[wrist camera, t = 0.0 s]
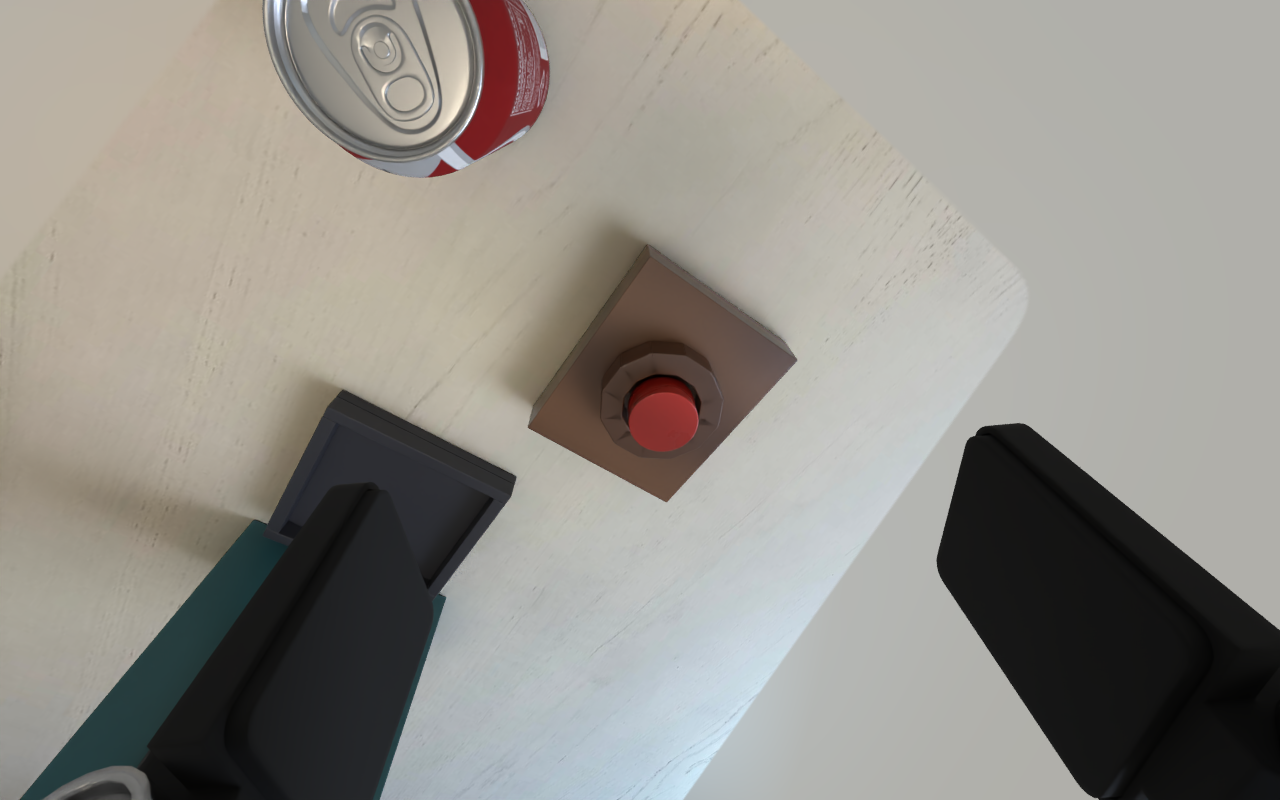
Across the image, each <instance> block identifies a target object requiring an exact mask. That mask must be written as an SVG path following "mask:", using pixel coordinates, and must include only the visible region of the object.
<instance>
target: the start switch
mask: <svg viewBox="0 0 1280 800" xmlns="http://www.w3.org/2000/svg"><path fill="white" fill-rule="evenodd" d="M796 362H797V359H796V357H795V356H794V354H793V353H792V351H791V350H790V348H789V347H788V345H787V344H786V342H784V341H783V340H781V339H780V338H779V337H777V336H776V335H774V334H773V333H772V332H770V331H769V330H767V329H766V328H765V327H763V326H762V325H760V324H759V323H758V322H756V321H755V320H753V319H752V318H751V317H749V316H748V315H746V314H745V313H744V312H742V311H741V310H739V309H738V308H737V307H735V306H734V305H732V304H731V303H730V302H728V301H727V300H725V299H724V298H723V297H721V296H720V295H718V294H717V293H715V292H714V291H713V290H711V289H710V288H708V287H707V286H706V285H704V284H703V283H701V282H700V281H699V280H697V279H696V278H694V277H693V276H692V275H690V274H689V273H687V272H686V271H685V270H683V269H682V268H680V267H679V266H678V265H676V264H675V263H673V262H672V261H671V260H669V259H668V258H666V257H665V256H664V255H662V254H661V253H659V252H658V251H657V250H655V249H654V248H652V247H651V246H650V245H647V246H646V247H645V249H644V250H643V252H642V253H641V254H640V256H639V257H638V259H637V260H636V261H635V263H634V264H633V266H632V267H631V269H630V270H629V271H628V273H627V274H626V276H625V277H624V278H623V280H622V281H621V283H620V284H619V286H618V287H617V288H616V290H615V291H614V293H613V294H612V295H611V297H610V298H609V300H608V301H607V302H606V304H605V305H604V307H603V308H602V310H601V311H600V312H599V314H598V315H597V317H596V318H595V319H594V321H593V322H592V324H591V325H590V327H589V328H588V329H587V331H586V332H585V334H584V335H583V336H582V338H581V339H580V341H579V342H578V344H577V345H576V346H575V348H574V349H573V351H572V352H571V353H570V355H569V356H568V358H567V359H566V361H565V362H564V363H563V365H562V366H561V368H560V369H559V370H558V372H557V373H556V375H555V376H554V378H553V379H552V380H551V382H550V383H549V385H548V386H547V387H546V389H545V390H544V392H543V393H542V395H541V396H540V397H539V399H538V400H537V402H536V403H535V404H534V406H533V409H532V412H531V416H530V420H529V424H528V428H529V429H531V430H533V431H535V432H537V433H539V434H540V435H542V436H544V437H546V438H548V439H550V440H552V441H553V442H555V443H557V444H559V445H561V446H563V447H565V448H566V449H568V450H570V451H572V452H574V453H576V454H578V455H579V456H581V457H583V458H585V459H587V460H589V461H591V462H592V463H594V464H596V465H598V466H600V467H602V468H604V469H605V470H607V471H609V472H611V473H613V474H615V475H617V476H618V477H620V478H622V479H624V480H626V481H628V482H630V483H631V484H633V485H635V486H637V487H639V488H641V489H643V490H644V491H646V492H648V493H650V494H652V495H654V496H656V497H657V498H659V499H661V500H663V501H665V502H668V500H669V499H670V498H671V497H672V496H673V495H674V494H675V493H676V492H677V491H678V490H679V489H680V487H681V486H682V485H683V484H684V483H685V482H686V481H687V480H688V479H689V478H690V477H691V475H692V474H693V473H694V472H695V471H696V470H697V469H698V468H699V467H700V466H701V465H702V464H703V462H704V461H705V460H706V459H707V458H708V457H709V456H710V455H711V454H712V453H713V452H714V451H715V449H716V448H717V447H718V446H719V445H720V444H721V443H722V442H723V441H724V440H725V439H726V438H727V436H728V435H729V434H730V433H731V432H732V431H733V430H734V429H735V428H736V427H737V426H738V424H739V423H740V422H741V421H742V420H743V419H744V418H745V417H746V416H747V415H748V414H749V413H750V411H751V410H752V409H753V408H754V407H755V406H756V405H757V404H758V403H759V402H760V401H761V400H762V398H763V397H764V396H765V395H766V394H767V393H768V392H769V391H770V390H771V389H772V388H773V386H774V385H775V384H776V383H777V382H778V381H779V380H780V379H781V378H782V377H783V376H784V375H785V373H786V372H787V371H788V370H789V369H790V368H791V367H792V366H793V365H794V364H795V363H796ZM655 377H670V378H674V379H677V380H679V381H681V382H682V383H684V384H685V385H686V386H687V387H688V388H689V389H690V391H691V393H692V395H693V397H694V401H695V405H696V409H697V413H698V419H699V422H698V427H697V430H696V433H695V434H694V436H693V437H692V439H691V440H690V441H689V442H688V443H686V444H685V445H683V446H682V447H680V448H678V449H675V450H671V451H665V452H659V451H653V450H649V449H647V448H645V447H643V446H641V445H640V444H639V443H637V442H636V440H635V439H634V438H633V437H632V435H631V433H630V430H629V422H628V401H629V398H630V396H631V394H632V392H633V391H634V389H635V388H636V387H637V386H638V385H640V384H641V383H642V382H644V381H646V380H648V379H651V378H655Z"/></svg>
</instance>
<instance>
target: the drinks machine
mask: <svg viewBox="0 0 1280 800" xmlns="http://www.w3.org/2000/svg"><path fill="white" fill-rule="evenodd" d="M266 527H267V525H266V524H264V523H261V522H259V521H256V520H253V521H252V522H251V524H250V525H249V526H248V527H247V528H246V530H245V531H244V532H243V533H242V534H241V536H240V537H239V538H238V539H237V540H236V542H235V543H234V544H233V545H232V546H231V548H230V549H229V550H228V551H227V552H226V554H225V555H224V556H223V557H222V558H221V560H220V561H219V562H218V563H217V564H216V565H215V567H214V568H213V569H212V570H211V571H210V573H209V574H208V575H207V576H206V577H205V579H204V580H203V581H202V582H201V583H200V585H199V586H198V587H197V588H196V589H195V591H194V592H193V593H192V594H191V595H190V597H189V598H188V599H187V600H186V601H185V603H184V604H183V605H182V606H181V607H180V609H179V610H178V611H177V612H176V613H175V615H174V616H173V617H172V618H171V619H170V621H169V622H168V623H167V624H166V625H165V626H164V628H163V629H162V630H161V631H160V632H159V634H158V635H157V636H156V637H155V638H154V640H153V641H152V642H151V643H150V644H149V646H148V647H147V648H146V649H145V650H144V652H143V653H142V654H141V655H140V656H139V658H138V659H137V660H136V661H135V662H134V664H133V665H132V666H131V667H130V668H129V670H128V671H127V672H126V673H125V674H124V676H123V677H122V678H121V679H120V680H119V682H118V683H117V684H116V685H115V686H114V688H113V689H112V690H111V691H110V692H109V693H108V695H107V696H106V697H105V698H104V699H103V701H102V702H101V703H100V704H99V705H98V707H97V708H96V709H95V710H94V711H93V713H92V714H91V715H90V716H89V717H88V719H87V720H86V721H85V722H84V723H83V725H82V726H81V727H80V728H79V729H78V731H77V732H76V733H75V734H74V735H73V737H72V738H71V739H70V740H69V741H68V743H67V744H66V745H65V746H64V747H63V749H62V750H61V751H60V752H59V753H58V754H57V756H56V757H55V758H54V759H53V760H52V762H51V763H50V764H49V765H48V766H47V768H46V769H45V770H44V771H43V772H42V774H41V775H40V776H39V777H38V778H37V780H36V781H35V782H34V783H33V784H32V786H31V787H30V788H29V789H28V790H27V792H26V793H25V794H24V795H23V796H22V798H21V799H20V800H42V799H44V798H45V797H47V796H48V795H49V794H51V793H52V792H54V791H55V790H57V789H58V788H60V787H61V786H63V785H65V784H67V783H69V782H71V781H73V780H75V779H77V778H79V777H81V776H83V775H85V774H87V773H89V772H93V771H96V770H100V769H103V768H107V767H110V766H133V767H134V768H136V769H139V768H140V766H141V765H142V763H143V762H144V760H145V759H146V758H147V756H148V755H149V753H150V752H151V751H150V750H149V749H148V747H147V745H148V743H149V742H150V740H151V739H152V738H153V736H154V735H155V733H156V732H157V731H158V729H159V728H160V726H161V725H162V724H163V722H164V721H165V719H166V718H167V717H168V715H169V714H170V712H171V711H172V709H173V708H174V707H175V705H176V704H177V702H178V701H179V700H180V698H181V697H182V695H183V694H184V693H185V691H186V690H187V688H188V687H189V686H190V684H191V683H192V681H193V680H194V679H195V677H196V676H197V674H198V673H199V672H200V670H201V669H202V667H203V666H204V665H205V663H206V662H207V660H208V659H209V657H210V656H211V655H212V653H213V652H214V650H215V649H216V648H217V646H218V645H219V643H220V642H221V641H222V639H223V638H224V636H225V635H226V634H227V632H228V631H229V629H230V628H231V627H232V625H233V624H234V622H235V621H236V620H237V618H238V617H239V615H240V614H241V613H242V611H243V610H244V608H245V607H246V605H247V604H248V603H249V601H250V600H251V598H252V597H253V596H254V594H255V593H256V591H257V590H258V589H259V587H260V586H261V584H262V583H263V582H264V580H265V579H266V577H267V576H268V575H269V573H270V572H271V570H272V569H273V568H274V566H275V565H276V563H277V562H278V561H279V559H280V558H281V556H282V555H283V553H284V552H285V551H286V549H287V548H288V546H286V545H284V544H281V543H279V542H276V541H274V540H271V539H268V538H266V537H263V536H262V535H263V533H264V531H265V529H266ZM445 600H446V597H443V596H441V595H439V594H438V595H437V596H436V597H435V599H434V600H433V601H432V603H433V610H434V616H433V623H432V627H431V630H430V633H429V636H428V639H427V642H426V645H425V647H424V650H423V653H422V656H421V659H420V662H419V665H418V668H417V671H416V674H415V677H414V680H413V683H412V686H411V689H410V692H409V695H408V698H407V700H406V703H405V706H404V709H403V712H402V715H401V718H400V721H399V724H398V727H397V730H396V733H395V736H394V739H393V742H392V745H391V748H390V751H389V754H388V756H387V759H386V762H385V765H384V768H383V771H382V774H381V777H380V780H379V783H378V786H377V789H376V792H375V795H374V798H373V800H380V797H381V794H382V791H383V788H384V785H385V782H386V779H387V776H388V773H389V770H390V767H391V764H392V761H393V758H394V755H395V752H396V749H397V746H398V743H399V739H400V736H401V733H402V730H403V727H404V724H405V721H406V718H407V715H408V712H409V709H410V706H411V703H412V700H413V697H414V694H415V691H416V688H417V685H418V682H419V679H420V676H421V673H422V670H423V667H424V664H425V661H426V658H427V655H428V652H429V649H430V646H431V643H432V639H433V636H434V633H435V630H436V627H437V624H438V621H439V618H440V615H441V612H442V609H443V606H444V603H445Z"/></svg>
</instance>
